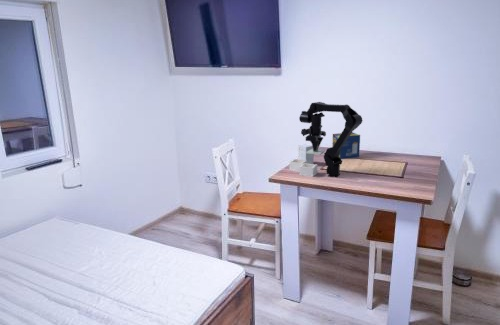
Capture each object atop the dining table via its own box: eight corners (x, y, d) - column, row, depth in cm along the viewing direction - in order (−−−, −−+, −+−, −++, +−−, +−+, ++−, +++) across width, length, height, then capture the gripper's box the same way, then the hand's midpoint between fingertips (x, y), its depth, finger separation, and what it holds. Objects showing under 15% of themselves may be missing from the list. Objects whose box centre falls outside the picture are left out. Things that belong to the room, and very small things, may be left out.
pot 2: (317, 174, 217) (317, 164, 215) (312, 178, 210) (312, 168, 208) (304, 172, 220) (304, 163, 219) (299, 176, 213) (299, 166, 212)
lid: (311, 150, 226) (311, 142, 224) (324, 151, 221) (325, 143, 220) (306, 153, 218) (306, 145, 217) (320, 154, 214) (320, 146, 213)
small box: (313, 166, 234) (314, 145, 231) (305, 167, 231) (305, 147, 228) (305, 163, 241) (306, 143, 238) (297, 164, 238) (297, 144, 235)
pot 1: (306, 169, 227) (306, 160, 225) (302, 173, 220) (302, 163, 218) (294, 168, 230) (294, 158, 229) (289, 171, 224) (289, 162, 222)
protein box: (331, 155, 258) (332, 133, 254) (351, 153, 262) (352, 132, 258) (339, 159, 248) (340, 136, 244) (359, 157, 253) (360, 134, 249)
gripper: (308, 120, 227) (308, 145, 231) (297, 125, 211) (296, 152, 216) (326, 121, 222) (325, 147, 226) (315, 126, 206) (315, 154, 210)
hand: (315, 150), depth 220 cm, fingers closed on lid, 3 cm apart
